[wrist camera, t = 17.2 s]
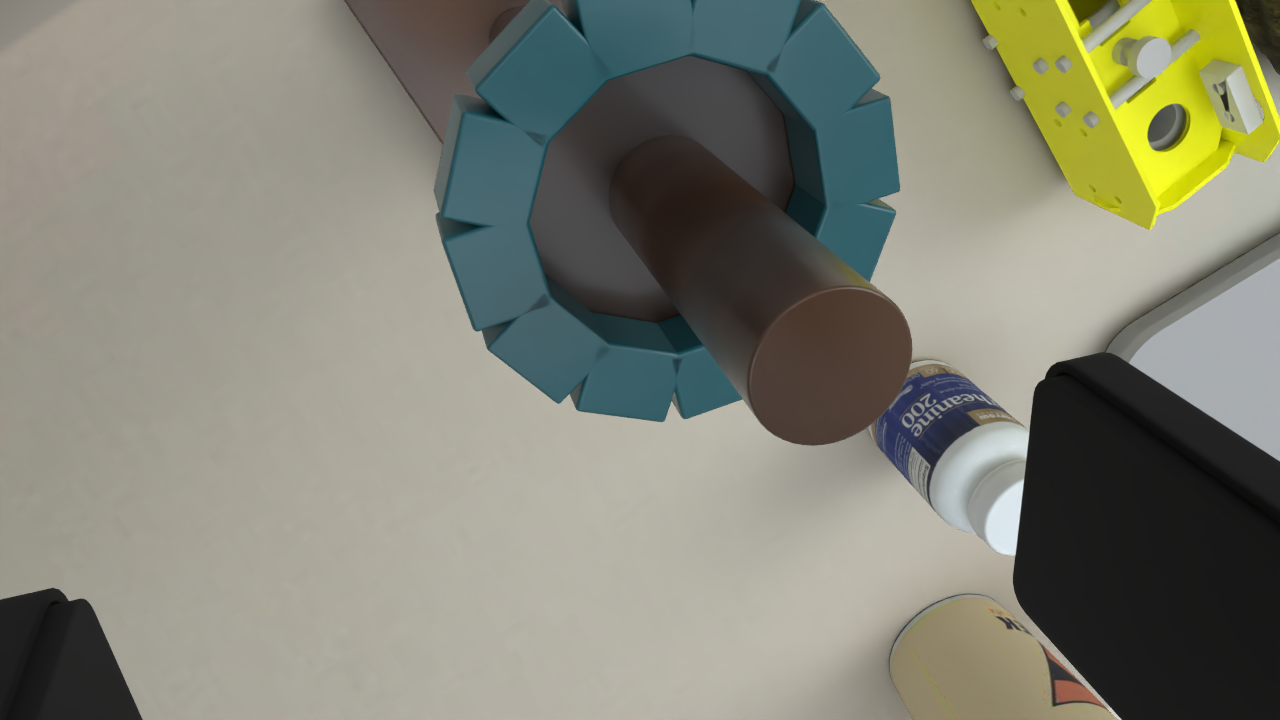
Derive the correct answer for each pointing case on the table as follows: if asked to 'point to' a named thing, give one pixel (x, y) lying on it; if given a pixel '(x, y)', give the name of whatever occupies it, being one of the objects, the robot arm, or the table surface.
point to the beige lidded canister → (983, 668)
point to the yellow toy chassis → (1136, 93)
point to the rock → (1263, 26)
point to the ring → (547, 101)
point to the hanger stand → (681, 221)
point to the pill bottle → (957, 452)
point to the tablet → (1219, 345)
